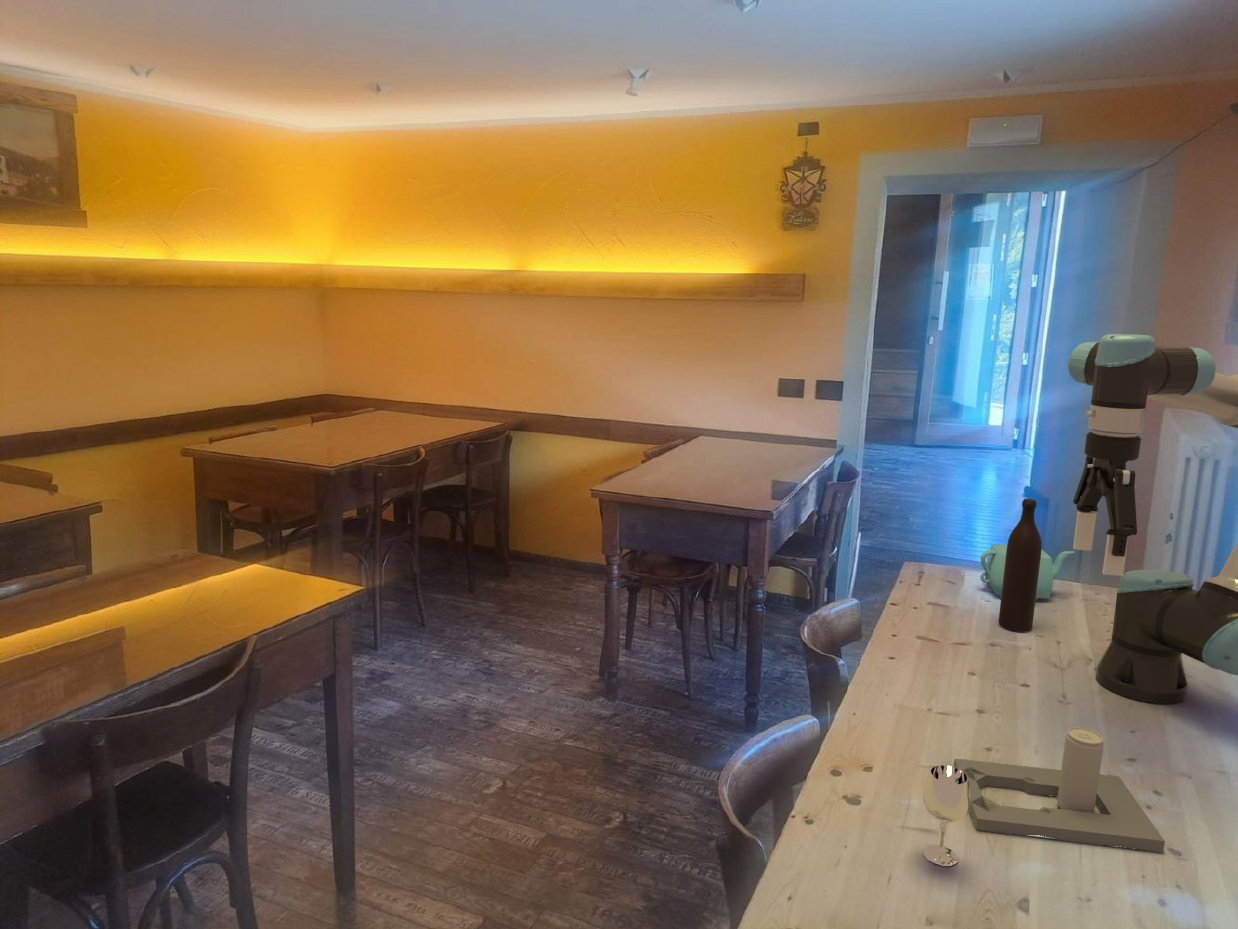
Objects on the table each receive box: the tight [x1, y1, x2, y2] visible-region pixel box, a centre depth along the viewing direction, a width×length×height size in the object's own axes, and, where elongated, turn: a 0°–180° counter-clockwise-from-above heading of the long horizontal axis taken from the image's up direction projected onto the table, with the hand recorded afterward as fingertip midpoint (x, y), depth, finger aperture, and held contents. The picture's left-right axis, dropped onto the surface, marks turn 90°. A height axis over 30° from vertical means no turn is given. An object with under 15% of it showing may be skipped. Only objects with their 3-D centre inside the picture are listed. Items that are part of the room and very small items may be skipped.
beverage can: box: [1056, 726, 1105, 813], centre depth 122 cm, size 5×5×12 cm
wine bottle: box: [998, 498, 1043, 633], centre depth 190 cm, size 7×7×30 cm
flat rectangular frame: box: [953, 757, 1166, 854], centre depth 124 cm, size 24×16×2 cm, turn 79°
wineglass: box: [922, 764, 970, 866], centre depth 111 cm, size 6×6×12 cm
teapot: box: [979, 544, 1076, 602], centre depth 214 cm, size 18×16×14 cm
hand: (1096, 561), depth 137 cm, fingers open, 13 cm apart
